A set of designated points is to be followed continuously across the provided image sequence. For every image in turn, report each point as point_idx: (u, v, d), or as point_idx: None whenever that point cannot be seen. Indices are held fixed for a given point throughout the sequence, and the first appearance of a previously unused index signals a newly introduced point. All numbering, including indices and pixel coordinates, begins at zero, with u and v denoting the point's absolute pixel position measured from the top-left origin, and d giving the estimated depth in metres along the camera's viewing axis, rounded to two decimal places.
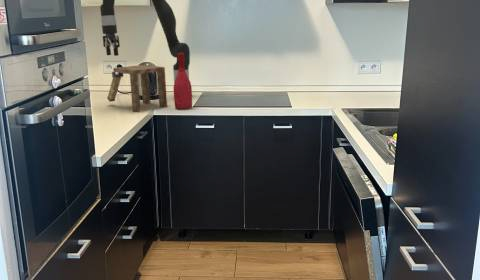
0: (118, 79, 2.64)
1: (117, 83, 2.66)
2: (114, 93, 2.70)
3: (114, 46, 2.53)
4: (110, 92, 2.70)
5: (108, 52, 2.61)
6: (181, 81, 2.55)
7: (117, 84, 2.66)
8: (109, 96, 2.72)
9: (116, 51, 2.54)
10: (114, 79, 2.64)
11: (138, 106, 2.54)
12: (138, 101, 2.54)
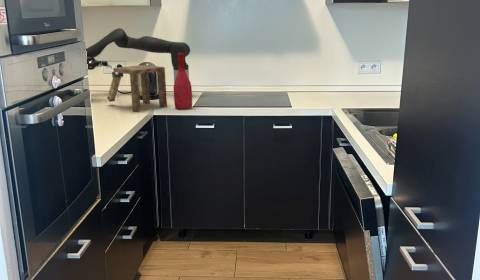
0: (118, 79, 2.64)
1: (117, 83, 2.66)
2: (114, 93, 2.70)
3: (89, 66, 2.76)
4: (110, 92, 2.70)
5: (105, 64, 2.79)
6: (181, 81, 2.55)
7: (117, 84, 2.66)
8: (109, 96, 2.72)
9: (90, 65, 2.74)
10: (114, 79, 2.64)
11: (138, 106, 2.54)
12: (138, 101, 2.54)
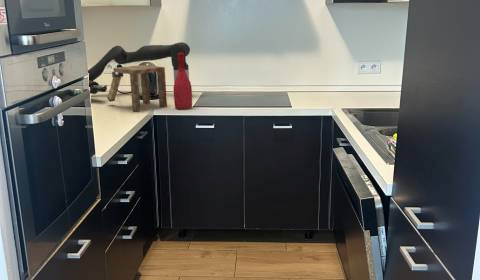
0: (118, 79, 2.64)
1: (117, 83, 2.66)
2: (114, 93, 2.70)
3: (98, 91, 2.80)
4: (110, 92, 2.70)
5: None
6: (181, 81, 2.55)
7: (117, 84, 2.66)
8: (109, 96, 2.72)
9: (100, 90, 2.79)
10: (114, 79, 2.64)
11: (138, 106, 2.54)
12: (138, 101, 2.54)
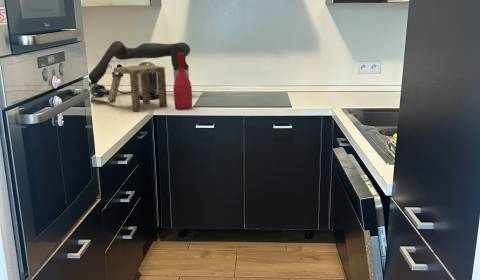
0: (118, 79, 2.64)
1: (117, 83, 2.66)
2: (114, 93, 2.70)
3: (105, 94, 2.76)
4: (110, 93, 2.70)
5: None
6: (181, 81, 2.55)
7: (117, 84, 2.66)
8: (110, 97, 2.72)
9: (107, 94, 2.74)
10: (114, 79, 2.64)
11: (138, 106, 2.54)
12: (138, 101, 2.54)
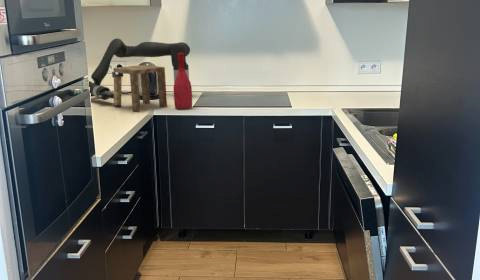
0: (119, 79, 2.63)
1: (119, 84, 2.64)
2: (119, 96, 2.67)
3: (110, 97, 2.72)
4: (115, 97, 2.67)
5: None
6: (181, 81, 2.55)
7: (119, 85, 2.65)
8: (115, 102, 2.68)
9: (111, 97, 2.70)
10: (115, 80, 2.63)
11: (138, 106, 2.54)
12: (138, 101, 2.54)
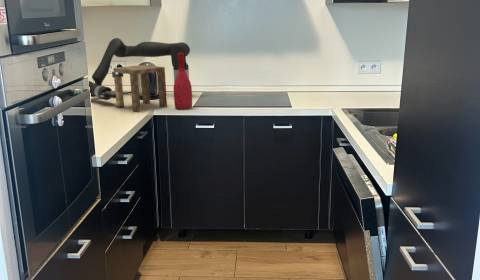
0: (119, 78, 2.63)
1: (120, 83, 2.64)
2: (121, 97, 2.66)
3: (112, 97, 2.70)
4: (117, 97, 2.66)
5: None
6: (181, 81, 2.55)
7: (120, 85, 2.64)
8: (117, 103, 2.66)
9: (113, 96, 2.68)
10: (115, 80, 2.63)
11: (138, 106, 2.54)
12: (138, 101, 2.54)
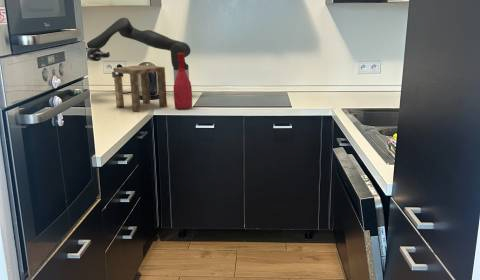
0: (119, 78, 2.63)
1: (120, 83, 2.64)
2: (121, 97, 2.65)
3: (101, 57, 2.75)
4: (117, 97, 2.66)
5: None
6: (181, 81, 2.55)
7: (120, 85, 2.64)
8: (117, 103, 2.66)
9: (103, 56, 2.73)
10: (115, 80, 2.63)
11: (138, 106, 2.54)
12: (138, 101, 2.54)
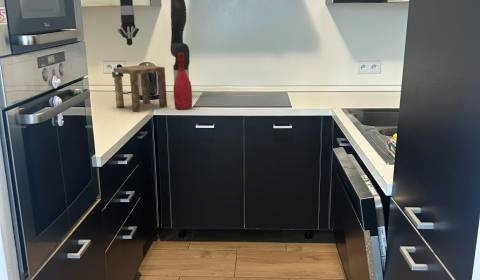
0: (119, 78, 2.63)
1: (120, 83, 2.64)
2: (121, 97, 2.65)
3: None
4: (117, 97, 2.66)
5: None
6: (181, 81, 2.55)
7: (120, 85, 2.64)
8: (117, 103, 2.66)
9: (127, 41, 2.74)
10: (115, 80, 2.63)
11: (138, 106, 2.54)
12: (138, 101, 2.54)
